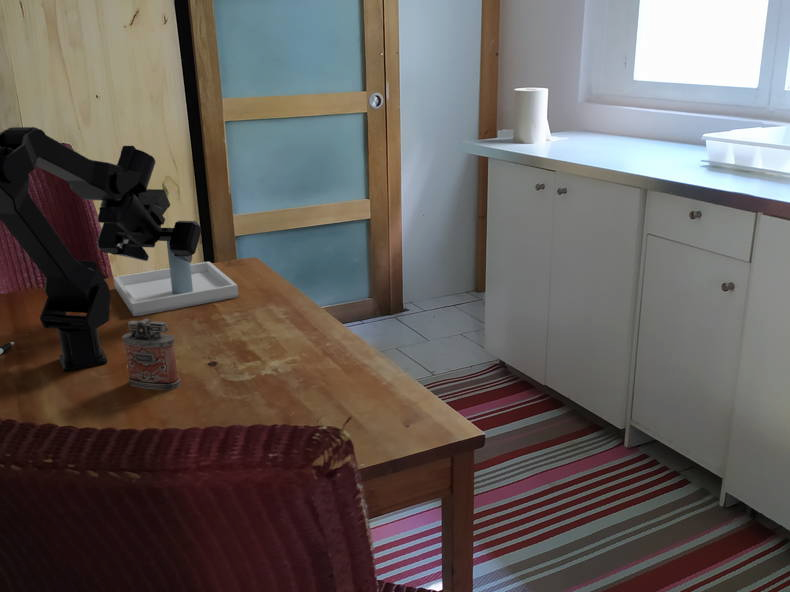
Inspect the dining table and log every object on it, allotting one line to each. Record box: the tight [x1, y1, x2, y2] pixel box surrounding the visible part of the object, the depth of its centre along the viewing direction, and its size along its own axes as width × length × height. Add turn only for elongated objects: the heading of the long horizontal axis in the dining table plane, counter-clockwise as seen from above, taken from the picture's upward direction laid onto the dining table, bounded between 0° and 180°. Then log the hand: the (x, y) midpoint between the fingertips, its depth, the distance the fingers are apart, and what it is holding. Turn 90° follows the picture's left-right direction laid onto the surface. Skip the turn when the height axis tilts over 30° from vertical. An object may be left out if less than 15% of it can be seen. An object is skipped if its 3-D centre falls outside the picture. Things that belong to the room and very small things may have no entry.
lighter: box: [121, 318, 181, 391], centre depth 110 cm, size 8×3×10 cm, turn 73°
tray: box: [113, 261, 240, 318], centre depth 152 cm, size 20×20×2 cm
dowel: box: [166, 241, 193, 294], centre depth 150 cm, size 4×4×12 cm
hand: (169, 259), depth 146 cm, fingers open, 9 cm apart
